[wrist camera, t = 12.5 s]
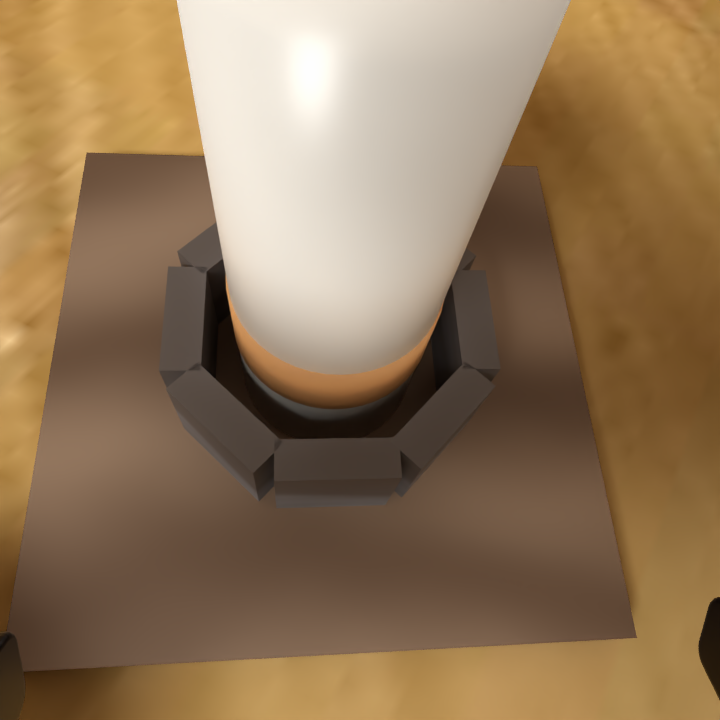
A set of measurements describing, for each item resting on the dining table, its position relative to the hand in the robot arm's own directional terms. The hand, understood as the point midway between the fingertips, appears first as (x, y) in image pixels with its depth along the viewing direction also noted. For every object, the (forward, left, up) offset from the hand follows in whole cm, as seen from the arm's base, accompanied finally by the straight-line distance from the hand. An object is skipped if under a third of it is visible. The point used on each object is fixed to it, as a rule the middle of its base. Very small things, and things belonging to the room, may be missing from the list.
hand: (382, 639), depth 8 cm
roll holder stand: (+8, +1, -10) cm, 12 cm away
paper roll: (+8, +1, -9) cm, 12 cm away
